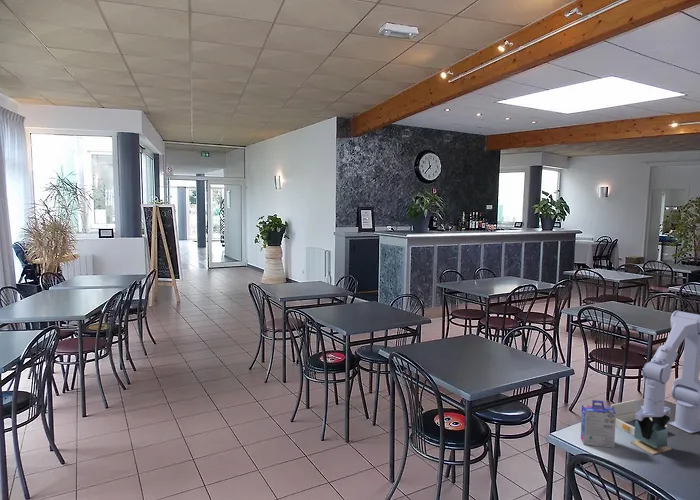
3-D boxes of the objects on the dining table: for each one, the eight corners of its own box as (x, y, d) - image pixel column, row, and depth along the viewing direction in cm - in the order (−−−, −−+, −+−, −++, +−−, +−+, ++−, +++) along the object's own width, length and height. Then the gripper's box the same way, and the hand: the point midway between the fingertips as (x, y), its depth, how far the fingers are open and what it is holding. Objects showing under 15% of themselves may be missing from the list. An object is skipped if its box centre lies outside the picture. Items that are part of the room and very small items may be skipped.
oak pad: (648, 438, 165) (648, 437, 165) (671, 449, 157) (671, 448, 157) (630, 442, 161) (630, 441, 161) (652, 454, 154) (652, 453, 154)
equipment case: (636, 417, 180) (636, 411, 180) (666, 432, 169) (667, 425, 168) (610, 423, 175) (611, 417, 175) (640, 439, 164) (641, 432, 164)
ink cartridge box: (609, 440, 163) (612, 400, 162) (615, 448, 158) (618, 407, 156) (579, 437, 165) (581, 397, 164) (583, 445, 160) (586, 404, 158)
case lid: (633, 416, 181) (635, 399, 180) (638, 418, 179) (639, 401, 178) (609, 422, 176) (610, 404, 175) (613, 424, 174) (614, 406, 174)
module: (644, 434, 164) (645, 418, 163) (666, 445, 157) (667, 428, 156) (634, 437, 162) (635, 420, 162) (656, 448, 155) (657, 431, 154)
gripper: (657, 390, 164) (654, 427, 165) (628, 396, 158) (625, 434, 160) (678, 398, 157) (675, 436, 159) (647, 405, 152) (644, 444, 153)
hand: (651, 436), depth 159 cm, fingers closed on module, 5 cm apart
